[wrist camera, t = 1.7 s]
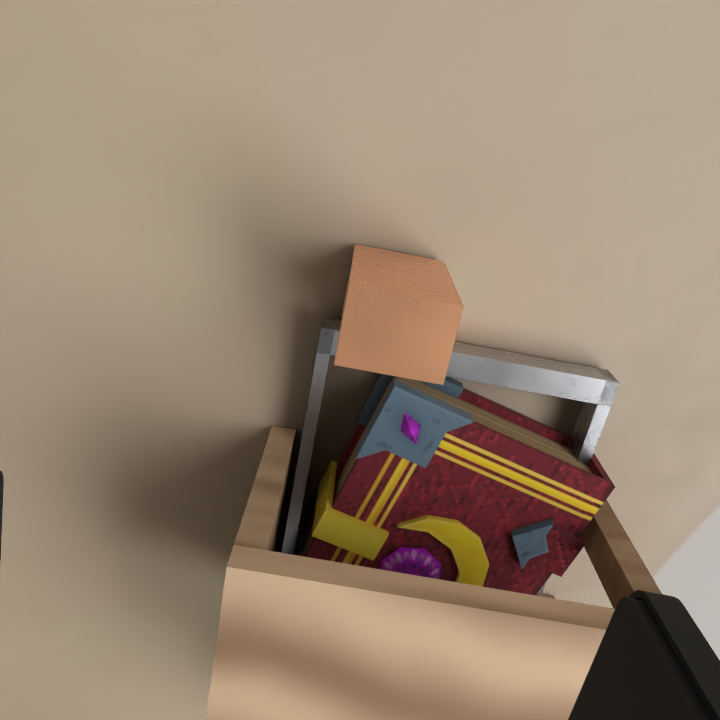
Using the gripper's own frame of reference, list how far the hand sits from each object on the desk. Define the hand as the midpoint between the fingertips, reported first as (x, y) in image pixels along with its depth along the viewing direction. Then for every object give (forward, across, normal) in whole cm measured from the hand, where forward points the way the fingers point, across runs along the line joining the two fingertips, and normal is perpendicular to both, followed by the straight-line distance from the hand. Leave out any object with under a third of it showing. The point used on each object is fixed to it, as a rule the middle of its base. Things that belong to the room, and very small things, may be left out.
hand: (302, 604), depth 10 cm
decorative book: (+22, -6, +12) cm, 26 cm away
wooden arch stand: (+22, -6, +12) cm, 25 cm away
